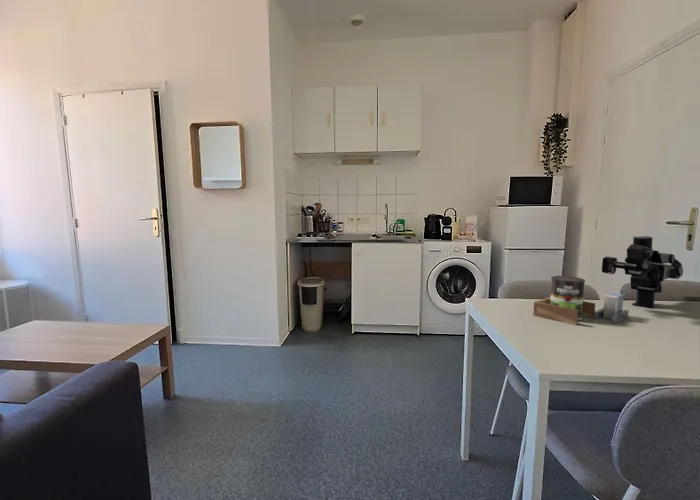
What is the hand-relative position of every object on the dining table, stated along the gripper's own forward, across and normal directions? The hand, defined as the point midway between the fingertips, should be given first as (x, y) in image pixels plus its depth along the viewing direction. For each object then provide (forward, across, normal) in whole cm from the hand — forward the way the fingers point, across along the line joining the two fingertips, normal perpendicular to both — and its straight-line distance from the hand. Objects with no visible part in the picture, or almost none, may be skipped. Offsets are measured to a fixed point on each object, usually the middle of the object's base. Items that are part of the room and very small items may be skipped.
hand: (623, 273), depth 127 cm
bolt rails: (+7, 0, +15) cm, 17 cm away
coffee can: (+18, -11, +15) cm, 26 cm away
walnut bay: (+18, -11, +14) cm, 25 cm away
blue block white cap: (+5, 0, +15) cm, 16 cm away
